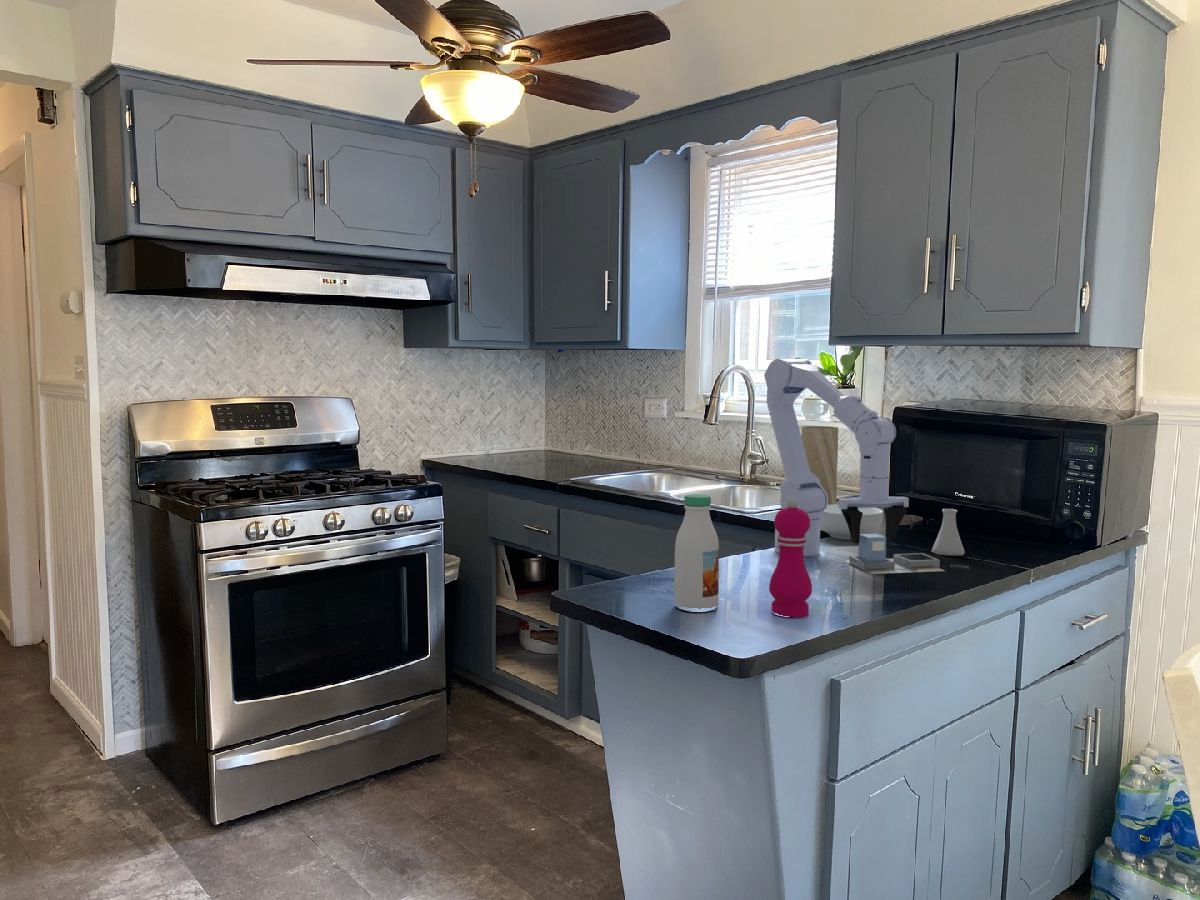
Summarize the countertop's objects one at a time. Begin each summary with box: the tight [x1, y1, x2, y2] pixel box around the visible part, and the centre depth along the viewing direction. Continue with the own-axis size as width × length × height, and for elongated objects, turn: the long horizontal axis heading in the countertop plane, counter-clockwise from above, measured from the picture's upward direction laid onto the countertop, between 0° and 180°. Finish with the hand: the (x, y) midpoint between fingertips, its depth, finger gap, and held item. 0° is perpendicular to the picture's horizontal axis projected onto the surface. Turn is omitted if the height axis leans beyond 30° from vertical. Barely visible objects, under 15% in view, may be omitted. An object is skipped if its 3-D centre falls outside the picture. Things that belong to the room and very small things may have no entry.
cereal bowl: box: [820, 504, 884, 541], centre depth 221 cm, size 17×17×7 cm
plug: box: [857, 532, 887, 562], centre depth 183 cm, size 4×5×6 cm
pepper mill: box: [768, 498, 813, 618], centre depth 152 cm, size 7×7×20 cm
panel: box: [845, 552, 946, 575], centre depth 185 cm, size 17×12×3 cm
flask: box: [931, 508, 966, 557], centre depth 201 cm, size 7×7×10 cm
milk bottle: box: [673, 493, 720, 609], centre depth 156 cm, size 8×8×20 cm
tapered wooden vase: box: [799, 425, 839, 505], centre depth 249 cm, size 10×10×25 cm
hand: (872, 542), depth 184 cm, fingers open, 7 cm apart
